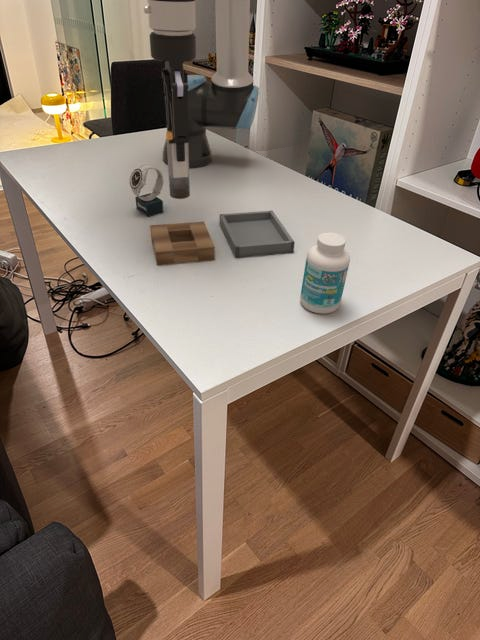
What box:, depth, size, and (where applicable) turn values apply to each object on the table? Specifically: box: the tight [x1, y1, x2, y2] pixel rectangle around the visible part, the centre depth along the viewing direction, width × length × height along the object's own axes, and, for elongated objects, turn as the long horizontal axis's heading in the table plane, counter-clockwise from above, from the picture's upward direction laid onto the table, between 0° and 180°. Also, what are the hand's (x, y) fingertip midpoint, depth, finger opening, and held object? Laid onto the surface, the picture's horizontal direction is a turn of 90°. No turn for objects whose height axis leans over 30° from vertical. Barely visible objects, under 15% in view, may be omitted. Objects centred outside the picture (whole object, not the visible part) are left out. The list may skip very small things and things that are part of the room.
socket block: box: [149, 220, 216, 266], centre depth 99 cm, size 12×12×3 cm
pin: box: [165, 130, 191, 200], centre depth 89 cm, size 4×4×12 cm
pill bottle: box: [299, 232, 351, 315], centre depth 82 cm, size 8×7×14 cm
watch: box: [129, 164, 165, 218], centre depth 111 cm, size 6×8×11 cm
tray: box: [219, 210, 295, 259], centre depth 104 cm, size 16×13×2 cm
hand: (178, 171), depth 90 cm, fingers closed on pin, 4 cm apart
